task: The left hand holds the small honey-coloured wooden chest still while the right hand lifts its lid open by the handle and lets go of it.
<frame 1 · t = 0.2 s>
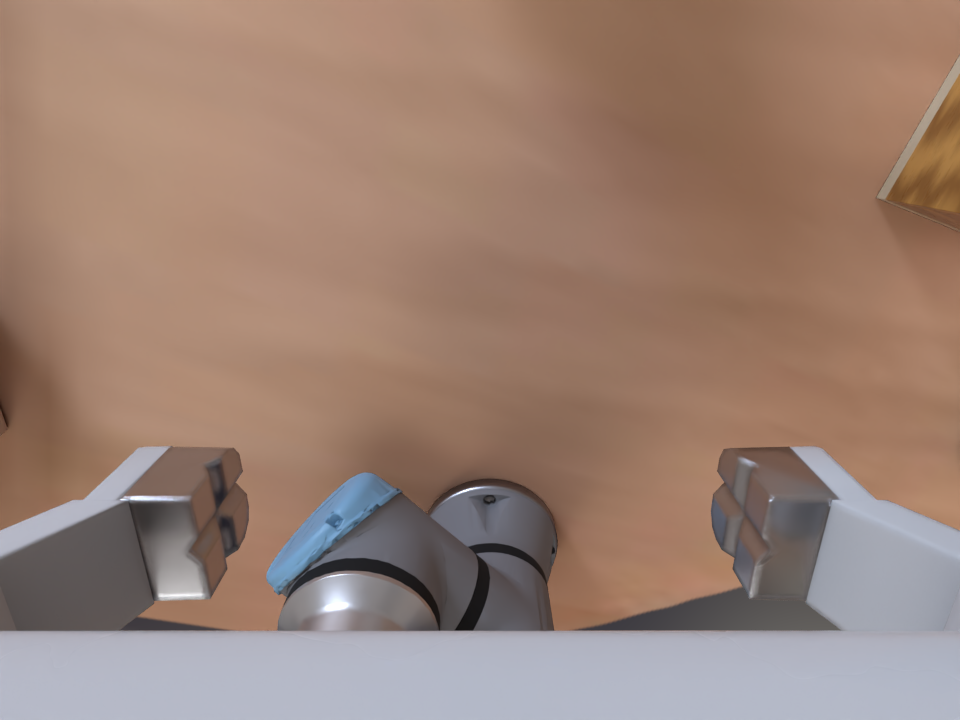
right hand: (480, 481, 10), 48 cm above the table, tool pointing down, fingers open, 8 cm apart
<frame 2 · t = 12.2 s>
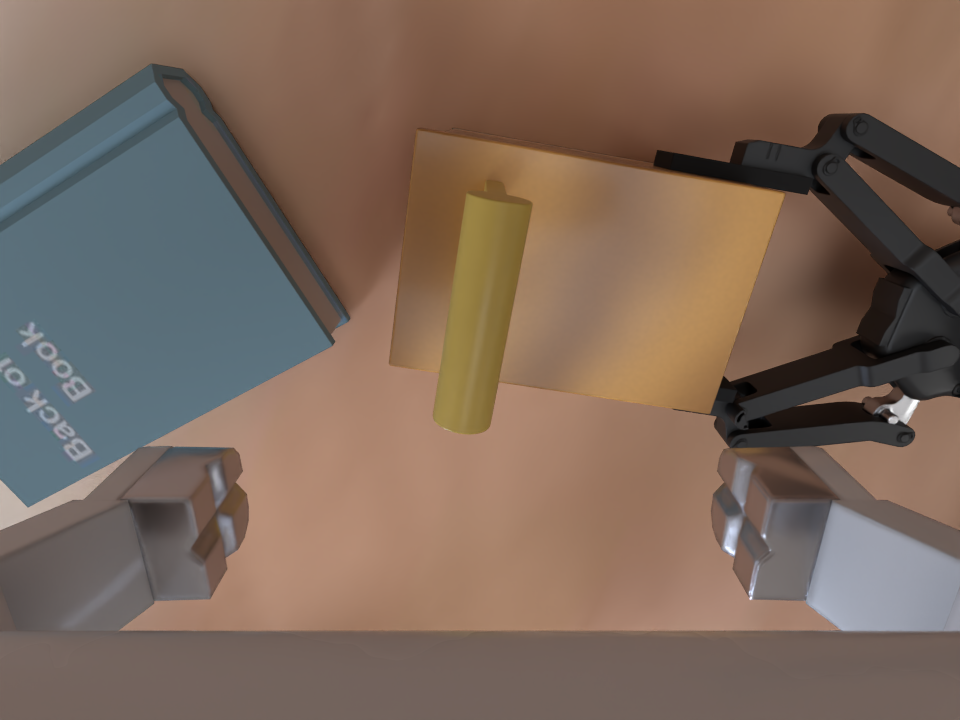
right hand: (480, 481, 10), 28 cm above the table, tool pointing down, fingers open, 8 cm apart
left hand: (633, 270, 30), fingers closed on chest, 10 cm apart
chest: (554, 235, 36), on the table, touching left hand
book: (128, 291, 37), on the table
lid: (589, 306, 22), point 15 cm above the table, hinge at 0.0°
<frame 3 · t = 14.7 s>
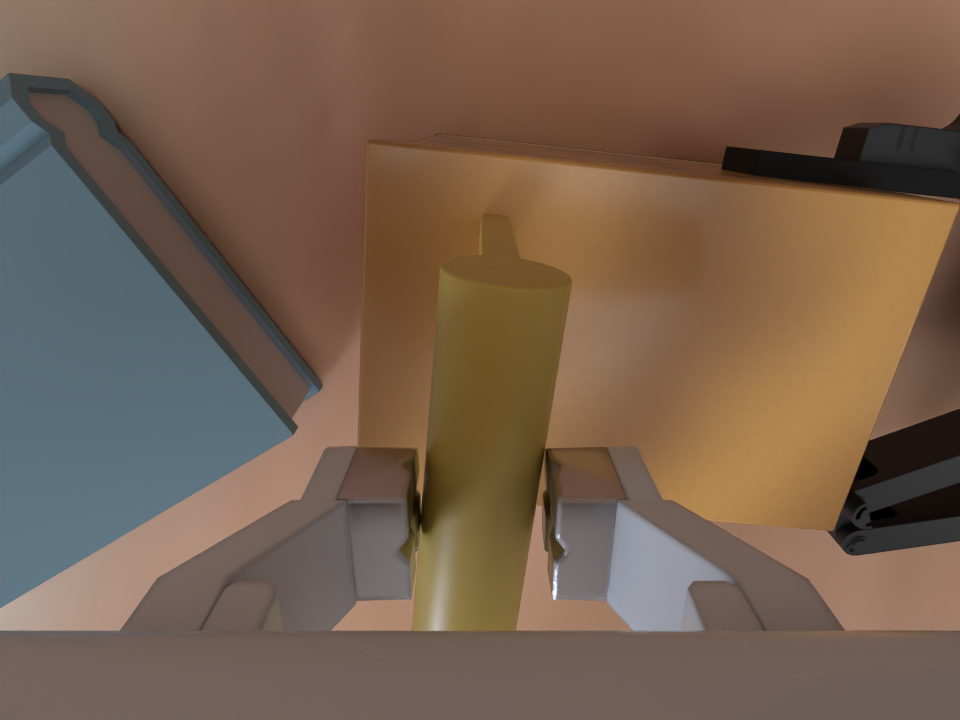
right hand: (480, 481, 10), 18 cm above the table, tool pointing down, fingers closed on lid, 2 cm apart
chest: (580, 265, 27), on the table, touching left hand
book: (40, 367, 29), on the table
lid: (662, 413, 13), point 15 cm above the table, hinge at 0.1°, touching right hand
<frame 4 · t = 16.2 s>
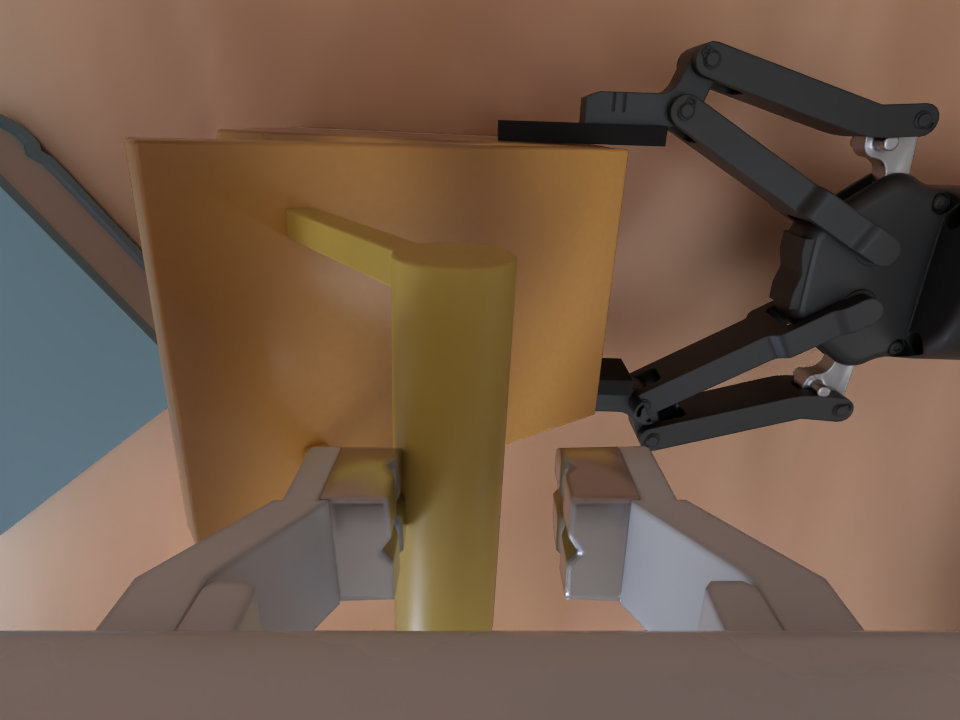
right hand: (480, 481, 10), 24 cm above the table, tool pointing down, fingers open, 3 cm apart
left hand: (493, 260, 26), fingers closed on chest, 10 cm apart
chest: (433, 230, 33), on the table, touching left hand
book: (5, 350, 36), on the table
lid: (509, 357, 15), point 19 cm above the table, hinge at 35.8°, touching right hand
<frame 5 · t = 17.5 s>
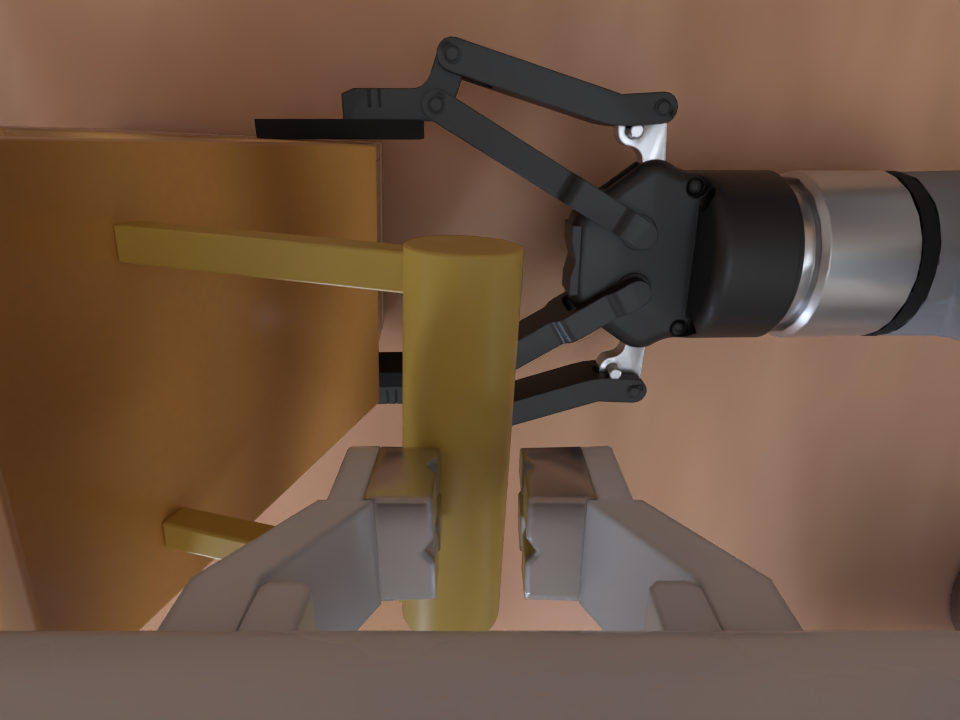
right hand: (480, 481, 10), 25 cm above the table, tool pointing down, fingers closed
left hand: (281, 258, 27), fingers closed on chest, 10 cm apart
chest: (254, 232, 33), on the table, touching left hand
lid: (376, 353, 15), point 19 cm above the table, hinge at 70.3°, touching right hand
when the left hand's fingers open (7 cm above the table, at t = 21.4 s): chest stays where it is, on the table.
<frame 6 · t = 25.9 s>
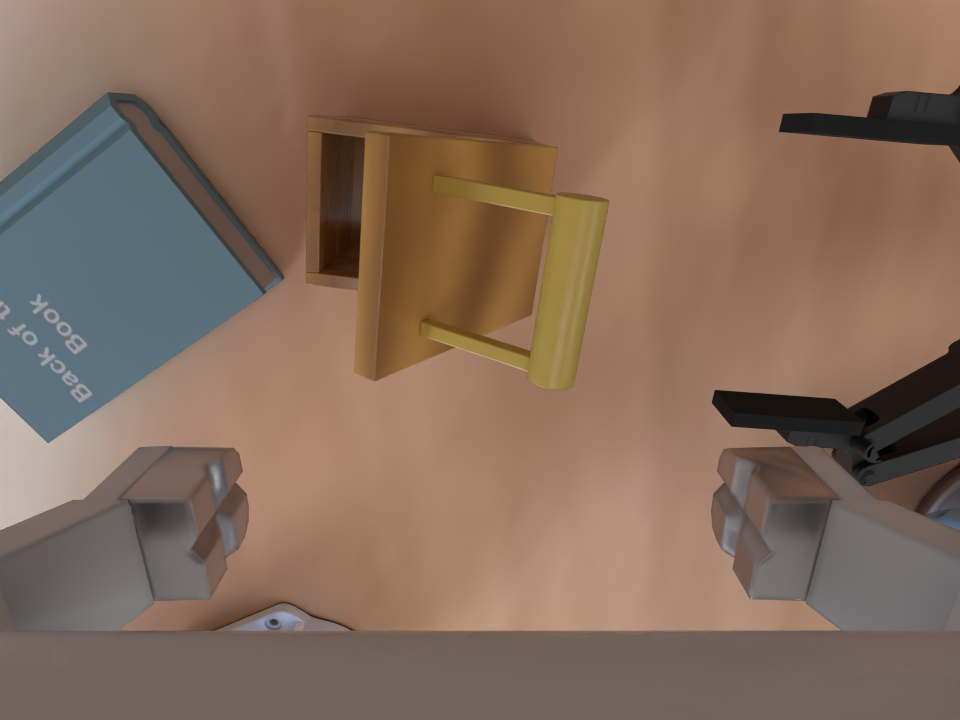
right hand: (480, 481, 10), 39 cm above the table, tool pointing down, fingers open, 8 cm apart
chest: (434, 197, 46), on the table
book: (112, 270, 48), on the table
lid: (536, 262, 28), point 20 cm above the table, hinge at 58.2°
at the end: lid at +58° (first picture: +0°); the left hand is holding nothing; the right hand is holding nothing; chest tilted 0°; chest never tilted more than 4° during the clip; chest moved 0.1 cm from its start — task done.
